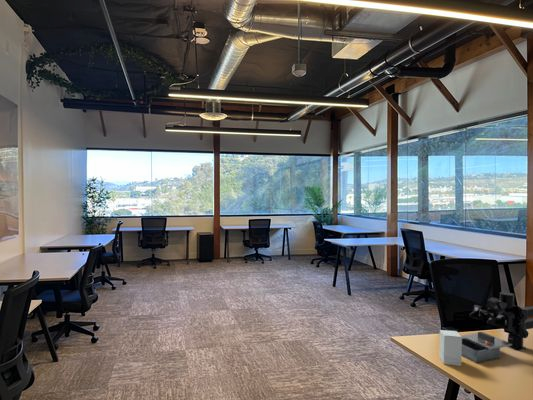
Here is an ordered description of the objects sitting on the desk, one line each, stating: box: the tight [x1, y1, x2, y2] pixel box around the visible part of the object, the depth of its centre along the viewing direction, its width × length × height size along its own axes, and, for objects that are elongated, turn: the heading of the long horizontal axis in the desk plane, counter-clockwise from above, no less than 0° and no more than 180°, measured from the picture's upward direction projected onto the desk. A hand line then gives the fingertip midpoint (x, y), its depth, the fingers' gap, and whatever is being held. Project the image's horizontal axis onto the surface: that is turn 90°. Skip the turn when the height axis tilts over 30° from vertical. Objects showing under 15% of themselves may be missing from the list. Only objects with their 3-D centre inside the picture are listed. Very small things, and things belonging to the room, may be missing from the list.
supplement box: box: [438, 329, 463, 367], centre depth 161 cm, size 7×7×13 cm
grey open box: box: [462, 338, 501, 364], centre depth 169 cm, size 14×14×5 cm
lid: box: [461, 331, 512, 349], centre depth 171 cm, size 15×15×3 cm
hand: (478, 318), depth 169 cm, fingers open, 9 cm apart
